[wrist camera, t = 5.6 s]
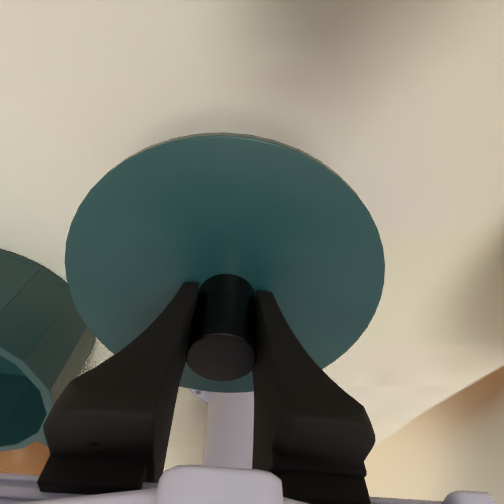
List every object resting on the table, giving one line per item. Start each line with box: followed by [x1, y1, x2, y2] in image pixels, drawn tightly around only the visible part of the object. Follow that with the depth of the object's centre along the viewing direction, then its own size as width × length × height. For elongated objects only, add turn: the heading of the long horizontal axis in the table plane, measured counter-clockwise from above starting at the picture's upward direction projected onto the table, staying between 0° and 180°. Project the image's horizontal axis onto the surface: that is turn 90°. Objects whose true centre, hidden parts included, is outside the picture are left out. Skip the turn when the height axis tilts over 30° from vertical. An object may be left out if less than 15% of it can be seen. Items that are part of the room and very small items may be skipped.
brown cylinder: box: [0, 441, 50, 476], centre depth 31 cm, size 8×5×5 cm, turn 171°
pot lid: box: [65, 133, 385, 393], centre depth 14 cm, size 14×14×5 cm
